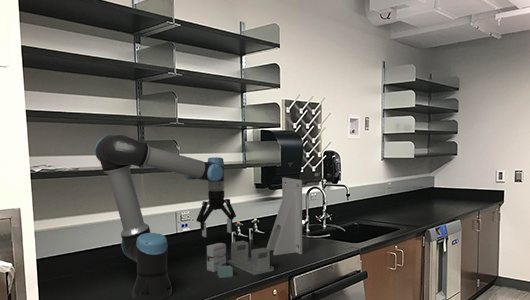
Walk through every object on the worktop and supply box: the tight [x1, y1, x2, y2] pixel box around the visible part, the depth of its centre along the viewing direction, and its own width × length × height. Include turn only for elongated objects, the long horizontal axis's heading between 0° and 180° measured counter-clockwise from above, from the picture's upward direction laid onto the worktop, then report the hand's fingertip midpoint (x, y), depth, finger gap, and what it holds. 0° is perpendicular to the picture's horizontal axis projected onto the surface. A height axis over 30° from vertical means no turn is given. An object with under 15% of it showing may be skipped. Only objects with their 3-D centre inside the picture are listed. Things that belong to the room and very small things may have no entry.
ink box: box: [206, 242, 227, 273], centre depth 199 cm, size 8×5×12 cm, turn 141°
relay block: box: [217, 265, 234, 279], centre depth 189 cm, size 6×4×4 cm, turn 111°
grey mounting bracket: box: [265, 177, 303, 256], centre depth 230 cm, size 20×14×40 cm
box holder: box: [226, 240, 275, 276], centre depth 203 cm, size 11×24×10 cm, turn 36°
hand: (216, 234), depth 198 cm, fingers open, 13 cm apart
